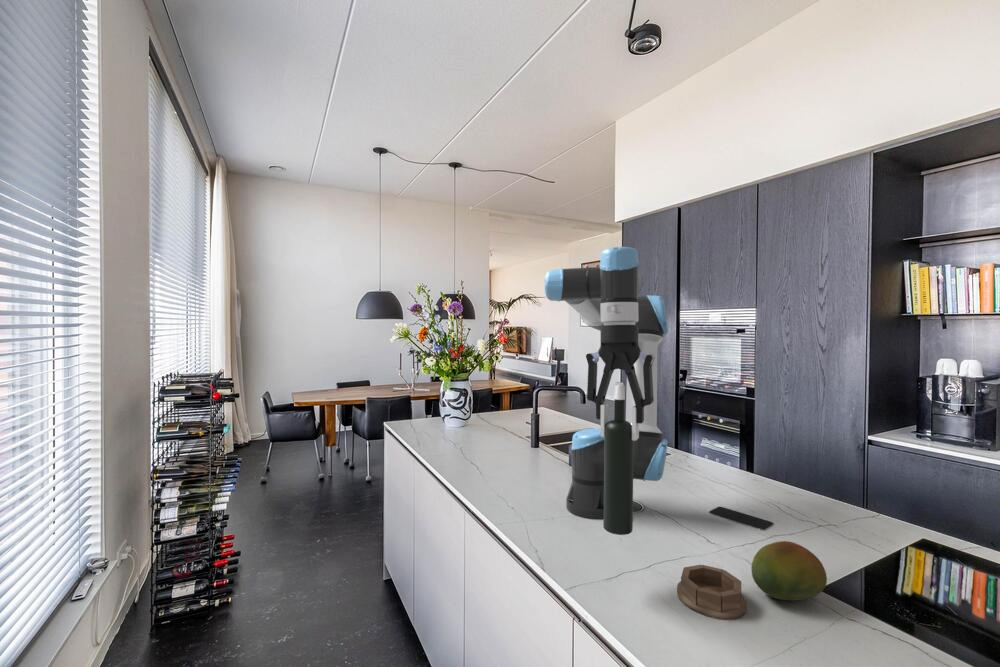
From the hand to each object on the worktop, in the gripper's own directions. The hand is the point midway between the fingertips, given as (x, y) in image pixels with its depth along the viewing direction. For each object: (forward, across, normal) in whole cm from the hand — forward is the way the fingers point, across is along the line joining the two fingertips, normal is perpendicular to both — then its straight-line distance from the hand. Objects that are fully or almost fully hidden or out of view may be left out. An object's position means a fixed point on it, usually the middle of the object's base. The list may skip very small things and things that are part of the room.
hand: (619, 436), depth 90 cm
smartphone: (+31, +20, +50) cm, 63 cm away
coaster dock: (+31, +16, +5) cm, 35 cm away
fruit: (+31, +29, +13) cm, 45 cm away
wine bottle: (+19, 0, 0) cm, 19 cm away
